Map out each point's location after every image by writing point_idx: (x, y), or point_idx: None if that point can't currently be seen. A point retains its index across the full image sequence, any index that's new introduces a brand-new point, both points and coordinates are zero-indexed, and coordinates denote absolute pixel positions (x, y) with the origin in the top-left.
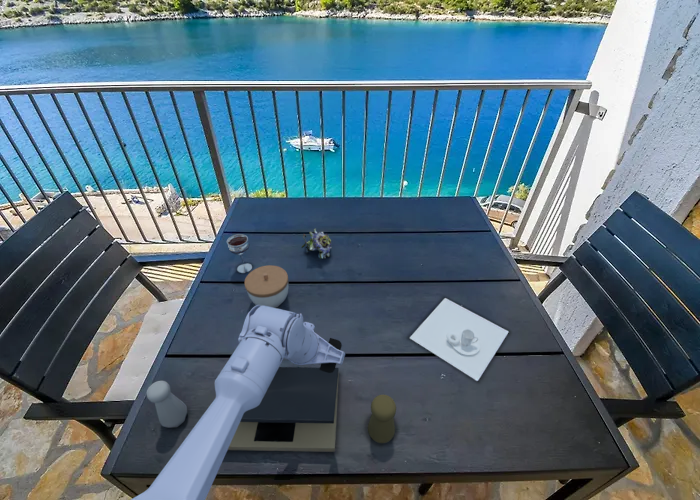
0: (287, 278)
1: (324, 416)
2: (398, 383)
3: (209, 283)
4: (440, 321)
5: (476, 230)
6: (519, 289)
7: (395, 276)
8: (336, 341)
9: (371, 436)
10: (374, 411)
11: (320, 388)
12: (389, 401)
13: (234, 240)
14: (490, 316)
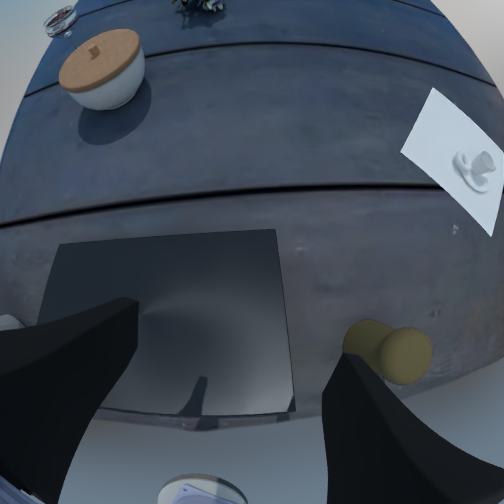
0: (137, 42)
1: (270, 401)
2: (394, 249)
3: (33, 94)
4: (437, 125)
5: (431, 11)
6: (499, 98)
7: (348, 39)
8: (491, 500)
9: None
10: (392, 377)
11: (243, 303)
12: (425, 349)
13: (58, 20)
14: (487, 129)
